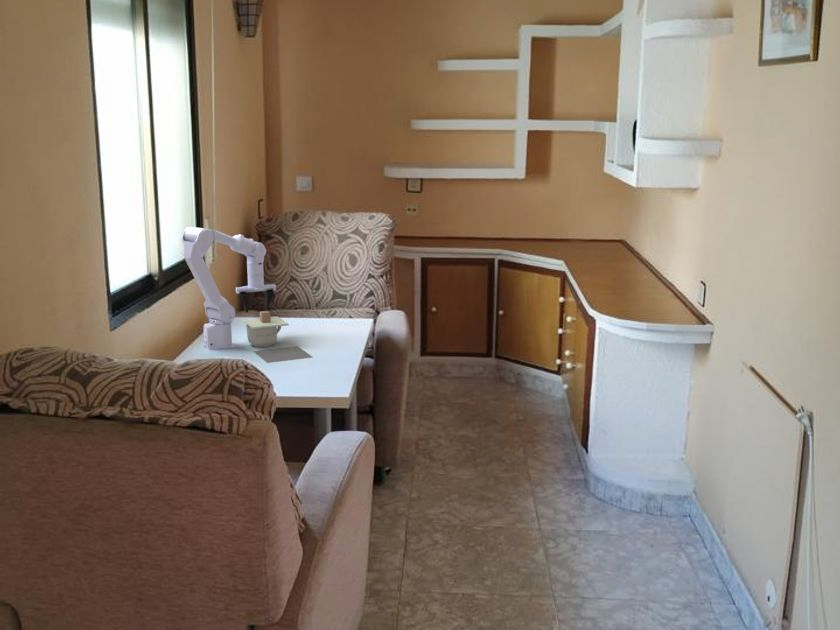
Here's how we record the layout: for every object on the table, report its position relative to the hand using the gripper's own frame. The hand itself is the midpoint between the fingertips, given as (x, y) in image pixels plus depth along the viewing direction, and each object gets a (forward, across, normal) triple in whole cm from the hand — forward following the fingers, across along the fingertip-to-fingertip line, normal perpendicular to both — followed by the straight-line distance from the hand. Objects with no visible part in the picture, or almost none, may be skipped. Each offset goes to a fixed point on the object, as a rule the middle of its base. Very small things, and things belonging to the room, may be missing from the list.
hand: (256, 310), depth 309 cm
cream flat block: (+2, 0, -11) cm, 11 cm away
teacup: (+10, 0, -11) cm, 15 cm away
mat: (+10, +1, -27) cm, 29 cm away
